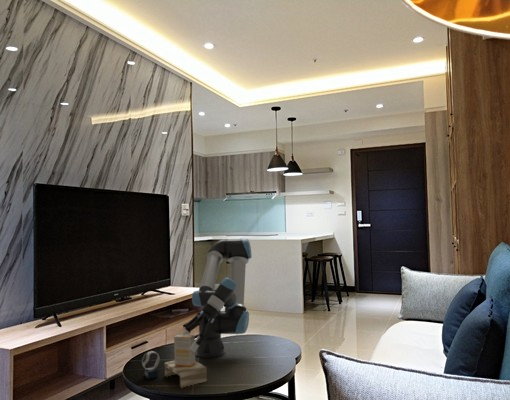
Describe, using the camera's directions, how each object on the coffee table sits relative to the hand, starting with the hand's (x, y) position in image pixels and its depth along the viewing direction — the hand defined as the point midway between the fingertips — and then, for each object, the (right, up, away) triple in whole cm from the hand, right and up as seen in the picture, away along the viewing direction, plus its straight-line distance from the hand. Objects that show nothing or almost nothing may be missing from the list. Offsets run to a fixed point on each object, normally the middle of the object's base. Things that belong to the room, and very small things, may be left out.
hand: (185, 346), depth 180 cm
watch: (-16, -15, +4) cm, 23 cm away
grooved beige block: (0, -14, 0) cm, 14 cm away
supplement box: (0, -8, 0) cm, 8 cm away
